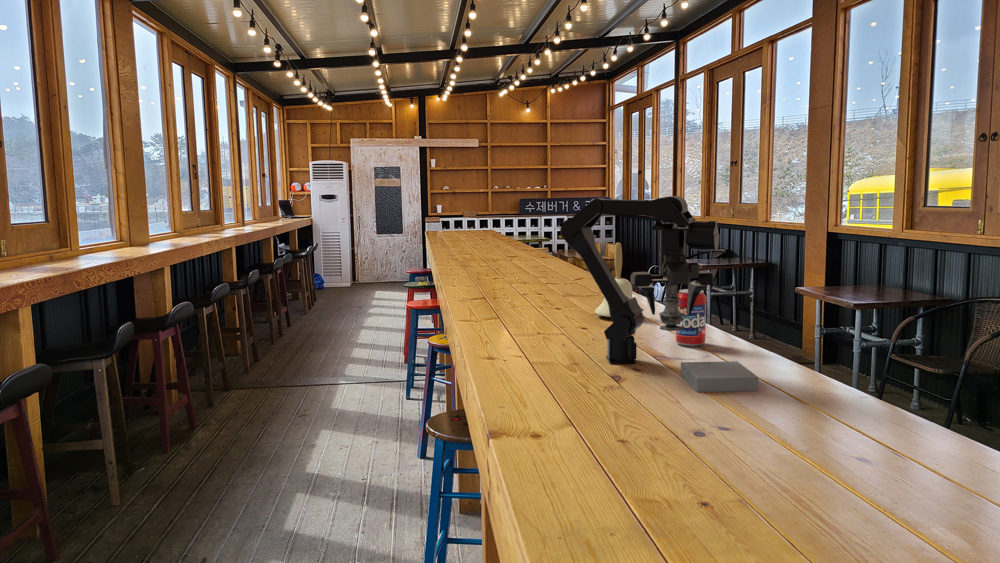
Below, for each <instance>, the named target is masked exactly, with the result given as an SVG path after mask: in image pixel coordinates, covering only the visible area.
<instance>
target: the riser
mask: <svg viewBox="0 0 1000 563" xmlns="http://www.w3.org/2000/svg"><path fill="white" fill-rule="evenodd" d="M680 376H681V377H682V378H683V379H684V380H685V382H686V383H688V385H690V386H691V388H692V389H693V390H694V391H695V392H697V393H712V392H717V393H719V392H755V391H756V392H758V391H759V379H760V378H759V376H758V375H756V374H755V373H754V372H753V371H751V370H750V369H748V368H747V367H746V366H744V365H743V364H741V362H739V361H734V360H733V361H729V360H728V361H688V362H687V361H685V362H680Z"/></svg>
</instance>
